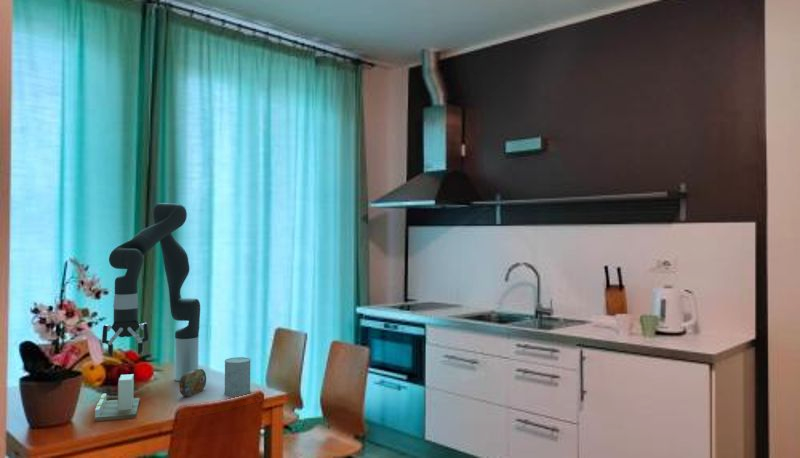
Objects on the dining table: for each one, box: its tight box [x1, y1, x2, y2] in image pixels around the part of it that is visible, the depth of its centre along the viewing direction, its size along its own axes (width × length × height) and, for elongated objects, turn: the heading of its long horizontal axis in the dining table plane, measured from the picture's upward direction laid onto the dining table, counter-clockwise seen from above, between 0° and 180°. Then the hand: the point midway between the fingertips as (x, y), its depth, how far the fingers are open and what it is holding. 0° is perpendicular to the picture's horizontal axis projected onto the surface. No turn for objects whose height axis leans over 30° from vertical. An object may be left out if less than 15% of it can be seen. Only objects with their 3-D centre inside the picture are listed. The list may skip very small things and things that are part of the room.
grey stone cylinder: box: [224, 356, 252, 397], centre depth 225 cm, size 10×10×12 cm
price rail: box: [94, 393, 107, 419], centre depth 199 cm, size 20×1×3 cm, turn 20°
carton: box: [117, 373, 135, 410], centre depth 202 cm, size 4×8×10 cm, turn 20°
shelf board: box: [94, 397, 141, 422], centre depth 201 cm, size 20×12×1 cm, turn 20°
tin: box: [179, 368, 207, 397], centre depth 223 cm, size 15×3×8 cm, turn 168°
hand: (125, 354), depth 202 cm, fingers open, 8 cm apart
